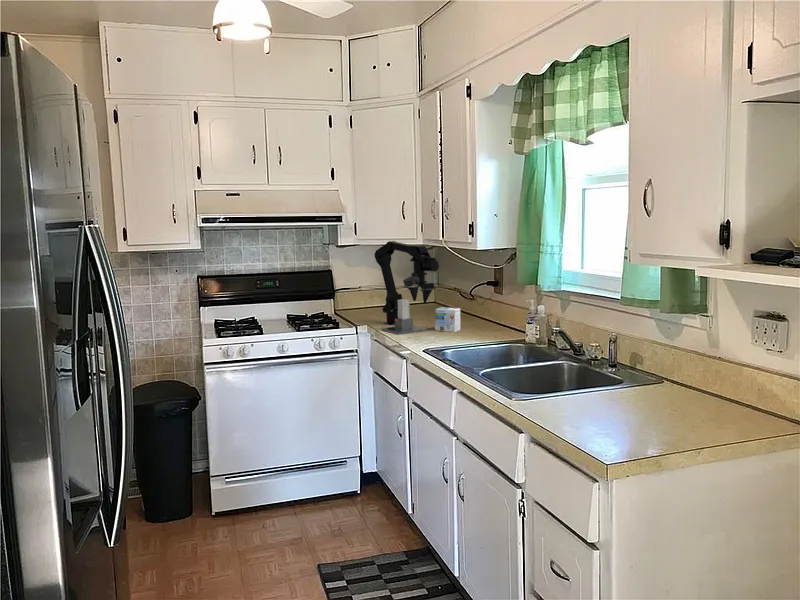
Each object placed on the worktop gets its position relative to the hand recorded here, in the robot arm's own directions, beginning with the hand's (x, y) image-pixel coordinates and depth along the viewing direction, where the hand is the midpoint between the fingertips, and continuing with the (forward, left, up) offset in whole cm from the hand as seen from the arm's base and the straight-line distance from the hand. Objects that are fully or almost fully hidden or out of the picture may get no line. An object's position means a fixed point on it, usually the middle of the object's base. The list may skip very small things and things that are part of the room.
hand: (419, 301), depth 336 cm
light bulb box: (+16, +5, -13) cm, 22 cm away
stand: (+3, -12, -13) cm, 18 cm away
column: (+3, -12, -8) cm, 14 cm away
